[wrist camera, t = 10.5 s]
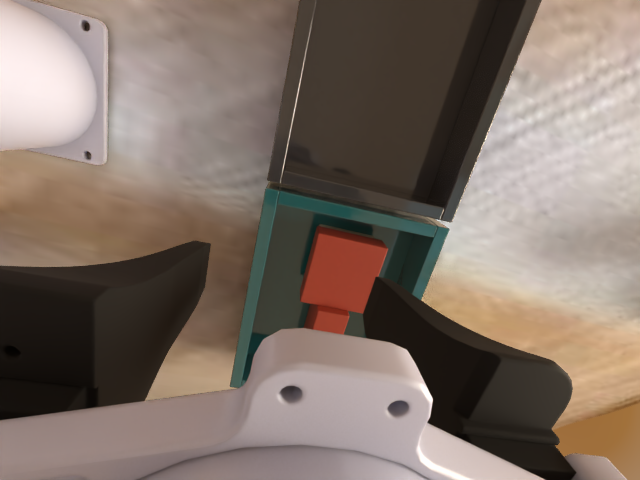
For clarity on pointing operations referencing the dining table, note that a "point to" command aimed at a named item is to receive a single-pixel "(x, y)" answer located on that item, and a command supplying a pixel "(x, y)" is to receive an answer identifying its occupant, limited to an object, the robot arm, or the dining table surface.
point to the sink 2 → (395, 97)
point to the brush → (339, 276)
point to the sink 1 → (294, 249)
